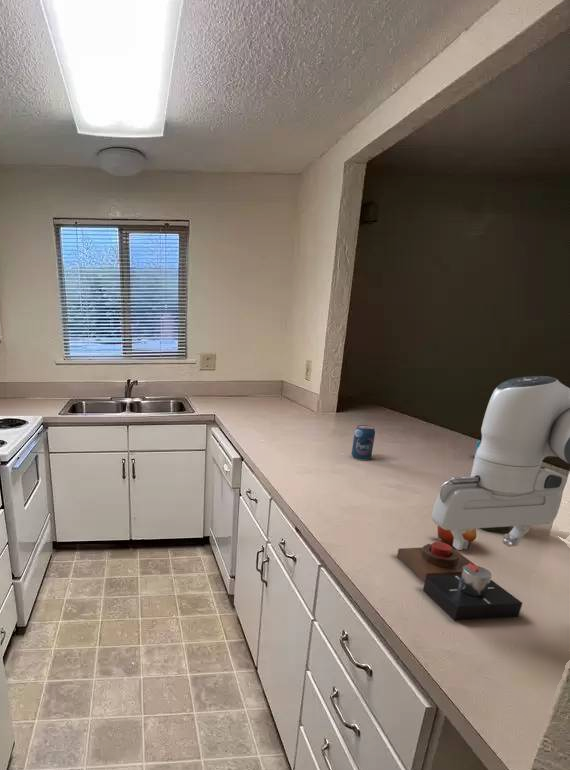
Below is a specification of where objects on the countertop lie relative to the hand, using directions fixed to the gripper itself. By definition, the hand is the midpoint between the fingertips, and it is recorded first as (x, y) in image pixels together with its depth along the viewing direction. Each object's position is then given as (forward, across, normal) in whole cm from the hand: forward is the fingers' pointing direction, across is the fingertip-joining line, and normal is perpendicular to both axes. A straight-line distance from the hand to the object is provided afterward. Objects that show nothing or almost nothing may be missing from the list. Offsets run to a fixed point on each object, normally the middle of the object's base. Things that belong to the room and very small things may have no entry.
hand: (484, 546), depth 78 cm
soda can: (+13, +22, +87) cm, 90 cm away
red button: (+8, +1, +12) cm, 14 cm away
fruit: (+12, +12, +22) cm, 28 cm away
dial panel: (+12, -1, 0) cm, 12 cm away
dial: (+9, -1, 0) cm, 9 cm away
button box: (+12, +1, +12) cm, 17 cm away
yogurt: (+14, +69, +80) cm, 106 cm away
